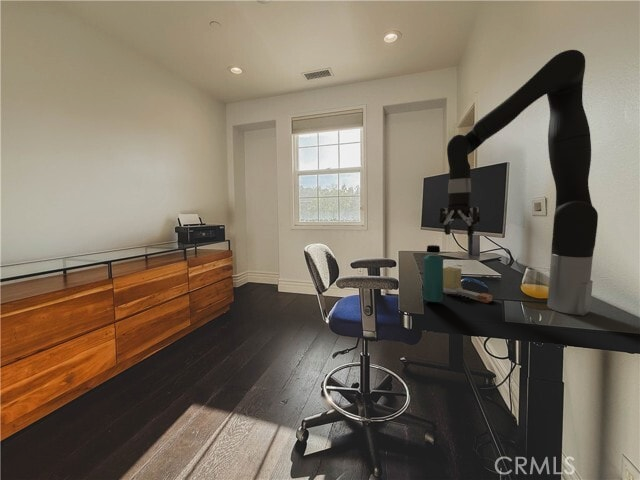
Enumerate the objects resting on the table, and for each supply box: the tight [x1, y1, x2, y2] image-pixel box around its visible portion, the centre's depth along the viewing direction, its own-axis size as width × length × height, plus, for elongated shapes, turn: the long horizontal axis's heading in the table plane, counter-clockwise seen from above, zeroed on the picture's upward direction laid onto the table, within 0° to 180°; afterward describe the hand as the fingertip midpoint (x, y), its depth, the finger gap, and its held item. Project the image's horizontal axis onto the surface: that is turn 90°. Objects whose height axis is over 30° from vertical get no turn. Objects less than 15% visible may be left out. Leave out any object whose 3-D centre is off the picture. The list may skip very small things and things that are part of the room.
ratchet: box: [443, 286, 493, 304], centre depth 99 cm, size 18×8×5 cm, turn 33°
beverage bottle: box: [422, 244, 444, 303], centre depth 91 cm, size 6×7×20 cm
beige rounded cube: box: [443, 266, 462, 290], centre depth 103 cm, size 5×5×7 cm
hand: (458, 235), depth 102 cm, fingers open, 8 cm apart
